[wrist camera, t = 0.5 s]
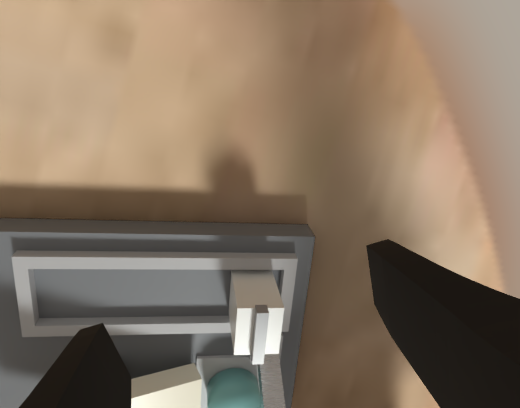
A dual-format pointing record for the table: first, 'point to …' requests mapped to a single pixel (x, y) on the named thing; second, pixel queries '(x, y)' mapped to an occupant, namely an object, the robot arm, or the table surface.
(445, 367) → the robot arm
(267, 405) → the toggle lever
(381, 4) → the table surface
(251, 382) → the push button
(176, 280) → the panel
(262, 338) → the slider knob
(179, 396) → the board
